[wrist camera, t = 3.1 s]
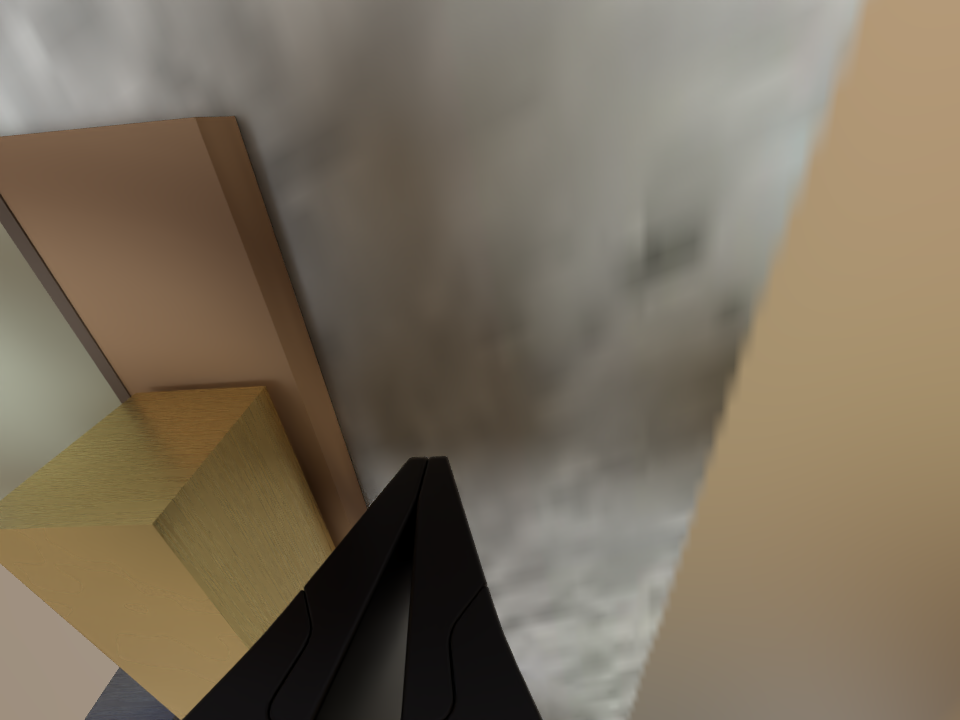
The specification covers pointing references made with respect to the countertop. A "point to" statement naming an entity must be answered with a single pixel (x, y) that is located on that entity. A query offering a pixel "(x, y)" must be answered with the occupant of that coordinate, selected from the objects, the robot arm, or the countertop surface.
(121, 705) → the stop block
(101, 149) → the door board
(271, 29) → the countertop surface
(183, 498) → the latch bar
